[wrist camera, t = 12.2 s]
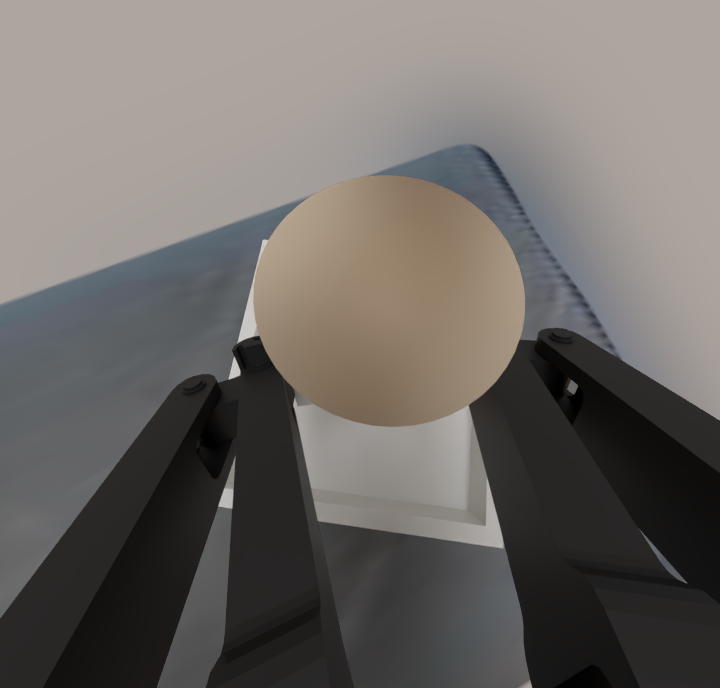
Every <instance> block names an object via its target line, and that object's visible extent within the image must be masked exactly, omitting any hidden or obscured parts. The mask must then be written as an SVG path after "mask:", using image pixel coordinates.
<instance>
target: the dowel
mask: <svg viewBox="0 0 720 688" xmlns="http://www.w3.org/2000/svg"><path fill="white" fill-rule="evenodd" d="M253 305H254V314H255V321H256V325H257V328H258V332H259V336H260V338H261V341H262V343H263V346H264V348H265V350H266V352H267V354H268V356H269V357H270V359H271V361H272V362H273V364H274V366H275V367H276V369H277V370H278V371H279V372H280V374H281V375H282V376H283V377H284V379H285V380H286V381H287V382H288V383H289V384H290V385H291V386H292V387H293V388H294V389H295V390H296V391H297V392H299V393H300V394H301V395H302V396H303V397H305V398H306V399H308V400H309V401H311V402H312V403H313V404H315V405H316V406H318V407H320V408H322V409H324V410H326V411H328V412H330V413H332V414H333V415H336V416H339V417H342V418H344V419H347V420H350V421H353V422H358V423H362V424H367V425H372V426H386V427H400V426H413V425H418V424H423V423H428V422H432V421H435V420H438V419H441V418H443V417H446V416H449V415H451V414H453V413H455V412H457V411H459V410H461V409H463V408H464V407H466V406H468V405H469V404H471V403H472V402H474V401H475V400H476V399H478V398H479V397H480V396H482V395H483V394H484V393H485V392H486V391H487V390H488V389H489V388H490V387H491V386H492V385H493V384H494V383H495V382H496V381H497V380H498V378H499V377H500V376H501V374H502V373H503V372H504V370H505V369H506V368H507V366H508V364H509V362H510V360H511V358H512V357H513V355H514V353H515V351H516V348H517V345H518V342H519V340H520V337H521V333H522V328H523V323H524V315H525V295H524V285H523V281H522V276H521V272H520V269H519V266H518V263H517V261H516V258H515V255H514V253H513V251H512V250H511V248H510V246H509V244H508V242H507V240H506V239H505V238H504V236H503V235H502V233H501V232H500V231H499V229H498V228H497V227H496V225H495V224H494V223H493V222H492V221H491V220H490V219H489V218H488V217H487V216H486V215H485V214H484V213H483V212H482V211H481V210H479V209H478V208H477V207H476V206H475V205H473V204H472V203H470V202H469V201H468V200H466V199H465V198H463V197H462V196H460V195H458V194H456V193H454V192H452V191H450V190H449V189H447V188H444V187H441V186H439V185H436V184H434V183H431V182H427V181H424V180H420V179H416V178H410V177H403V176H389V175H382V176H368V177H362V178H356V179H352V180H348V181H345V182H341V183H338V184H335V185H333V186H330V187H328V188H325V189H323V190H322V191H320V192H318V193H316V194H314V195H312V196H311V197H309V198H308V199H306V200H305V201H304V202H302V203H301V204H299V205H298V206H297V207H296V208H295V209H294V210H293V211H292V212H290V213H289V214H288V215H287V216H286V217H285V219H284V220H283V221H282V222H281V223H280V224H279V226H278V227H277V228H276V229H275V231H274V233H273V234H272V236H271V237H270V239H269V240H268V242H267V244H266V246H265V248H264V250H263V253H262V255H261V258H260V261H259V264H258V267H257V270H256V276H255V282H254V294H253Z"/></svg>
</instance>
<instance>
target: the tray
mask: <svg viewBox="0 0 720 688" xmlns="http://www.w3.org/2000/svg"><path fill="white" fill-rule="evenodd" d="M267 242H268V240H263V243H262V247H261V251H260V255H259V259H258V263H257V267H258V264H259V261H260V258H261V255H262V253H263V250H264V248H265V246H266V244H267ZM257 267H256V270H257ZM255 276H256V271H255V275H254V279H253V283H252V287H251V291H250V295H249V299H248V303H247V307H246V311H245V315H244V319H243V323H242V327H241V331H240V335H239V339H238V343H239V342H241V341H243V340H245V339H247V338H250V337H254V336H259V332H258V328H257V325H256V321H255V314H254V305H253V294H254V282H255ZM238 343H237V344H238ZM237 376H240V369H239V366H238V364H237V361H236V359H235V356H234V360H233V364H232V368H231V372H230V376H229V379H232V378H235V377H237ZM293 406H294V409H295V413H296V417H297V422H298V427H299V432H300V437H301V441H302V446H303V451H304V456H305V461H306V466H307V471H308V476H309V481H310V485H311V490H312V495H313V500H314V505H315V510H316V515H317V520H318V521H321V522H327V523H334V524H341V525H348V526H355V527H361V528H368V529H375V530H382V531H388V532H395V533H402V534H409V535H416V536H422V537H429V538H436V539H443V540H449V541H456V542H463V543H470V544H477V545H483V546H490V547H497V548H503V537H502V533H501V529H500V525H499V521H498V517H497V514H496V510H495V506H494V502H493V498H492V494H491V490H490V486H489V482H488V479H487V475H486V471H485V467H484V463H483V459H482V455H481V451H480V448H479V444H478V440H477V436H476V432H475V428H474V424H473V420H472V417H471V413H470V409H469V405H468V406H466V407H464V408H463V409H461V410H459V411H457V412H455V413H453V414H451V415H449V416H446V417H443V418H441V419H438V420H435V421H432V422H428V423H423V424H418V425H413V426H400V427H386V426H372V425H367V424H362V423H358V422H353V421H350V420H347V419H344V418H342V417H339V416H336V415H333V414H332V413H330V412H328V411H326V410H324V409H322V408H320V407H318V406H316V405H315V404H313V405H306V406H299V407H298V406H297V403H296V400H295V398H294V404H293ZM234 472H235V458H234V461H233V464H232V467H231V470H230V473H229V476H228V479H227V482H226V485H225V488H224V491H223V494H222V497H221V500H220V503H219V505H218V506H219V507H226V508H232V506H233V489H234Z"/></svg>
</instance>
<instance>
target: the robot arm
mask: <svg viewBox="0 0 720 688" xmlns="http://www.w3.org/2000/svg"><path fill="white" fill-rule="evenodd" d="M232 351H233V354H234V356H235V359H236V361H237V364H238V366H239V369H240V376H237V377H235V378H232V379H229V380H226V381H223V382H220V383H218V382H217V380H216V379H215V377H214V376H213V375H210V374H202V375H198V376H193V377H191V378H188V379H186V380H185V381H183V382H182V383H180V384H178V385H177V386H176V387H175V388H174V389H173V391H172V392H171V393H170V395H169V396H168V397H167V398H166V400H165V401H164V402H163V404H162V405H161V406H160V408H159V409H158V410H157V412H156V413H155V414H154V416H153V417H152V418H151V420H150V421H149V422H148V424H147V425H146V426H145V428H144V429H143V430H142V432H141V433H140V434H139V436H138V437H137V438H136V440H135V441H134V442H133V444H132V445H131V446H130V448H129V449H128V450H127V451H126V453H125V454H124V455H123V457H122V458H121V459H120V461H119V462H118V463H117V465H116V466H115V467H114V469H113V470H112V471H111V473H110V474H109V475H108V477H107V478H106V479H105V481H104V482H103V483H102V485H101V486H100V487H99V489H98V490H97V491H96V493H95V494H94V495H93V497H92V498H91V499H90V501H89V502H88V503H87V504H86V506H85V507H84V508H83V510H82V511H81V512H80V514H79V515H78V516H77V518H76V519H75V520H74V522H73V523H72V524H71V526H70V527H69V528H68V530H67V531H66V532H65V534H64V535H63V536H62V538H61V539H60V540H59V542H58V543H57V544H56V546H55V547H54V548H53V550H52V551H51V552H50V553H49V555H48V556H47V557H46V559H45V560H44V561H43V563H42V564H41V565H40V567H39V568H38V569H37V571H36V572H35V573H34V575H33V576H32V577H31V579H30V580H29V581H28V583H27V584H26V585H25V587H24V588H23V589H22V591H21V592H20V593H19V595H18V596H17V597H16V599H15V600H14V601H13V603H12V604H11V605H10V606H9V608H8V609H7V610H6V612H5V613H4V614H3V616H2V617H1V618H0V688H157V685H158V682H159V679H160V676H161V673H162V670H163V667H164V664H165V661H166V658H167V655H168V652H169V649H170V647H171V644H172V641H173V638H174V635H175V632H176V629H177V626H178V623H179V620H180V617H181V614H182V611H183V608H184V605H185V602H186V600H187V597H188V594H189V591H190V588H191V585H192V582H193V579H194V576H195V573H196V570H197V567H198V564H199V561H200V558H201V555H202V552H203V550H204V547H205V544H206V541H207V538H208V535H209V532H210V529H211V526H212V523H213V520H214V517H215V514H216V511H217V508H218V505H219V503H220V500H221V497H222V494H223V491H224V488H225V485H226V482H227V479H228V476H229V473H230V470H231V467H232V464H233V461H234V458H235V472H234V489H233V506H232V523H231V540H230V558H229V575H228V592H227V609H226V626H225V637H224V645H223V649H222V652H221V655H220V657H219V659H218V660H217V662H216V664H215V665H214V667H213V669H212V671H211V672H210V675H209V679H208V682H207V686H206V688H354V686H353V682H352V678H351V673H350V669H349V666H348V662H347V658H346V654H345V650H344V646H343V641H342V637H341V632H340V627H339V622H338V617H337V612H336V607H335V603H334V598H333V593H332V588H331V583H330V578H329V573H328V568H327V564H326V559H325V554H324V549H323V544H322V539H321V534H320V529H319V524H318V520H317V515H316V510H315V505H314V500H313V495H312V490H311V485H310V481H309V476H308V471H307V466H306V461H305V456H304V451H303V446H302V441H301V437H300V432H299V427H298V422H297V417H296V413H295V409H294V406H293V404H294V398H295V400H296V403H297V406H298V407H299V406H306V405H313V403H312V402H311V401H309V400H308V399H306V398H305V397H303V396H302V395H301V394H300V393H299V392H297V391H296V390H295V389H294V388H293V387H292V386H291V385H290V384H289V383H288V382H287V381H286V380H285V379H284V377H283V376H282V375H281V374H280V372H279V371H278V370H277V369H276V367H275V366H274V364H273V362H272V361H271V359H270V357H269V356H268V354H267V352H266V350H265V348H264V346H263V343H262V341H261V338H260V336H254V337H250V338H247V339H245V340H243V341H241V342H239V343H238V344H236V345H235V346H234V348H233V350H232ZM571 380H572V381H574V382H575V383H576V384H577V385H578V388H577V390H576V393H575V394H574V395H573V394H572V393H570V392H569V391H568V390H567V388H568V386H569V383H570V381H571ZM469 409H470V413H471V417H472V420H473V424H474V428H475V432H476V436H477V440H478V444H479V448H480V451H481V455H482V459H483V463H484V467H485V471H486V475H487V479H488V482H489V486H490V490H491V494H492V498H493V502H494V506H495V510H496V514H497V517H498V521H499V525H500V529H501V533H502V537H503V541H504V545H505V548H506V552H507V556H508V560H509V564H510V568H511V572H512V576H513V579H514V583H515V587H516V591H517V595H518V599H519V603H520V607H521V611H522V617H523V626H524V649H525V656H526V662H527V667H528V671H529V676H530V680H531V684H532V688H720V420H718V419H716V418H715V417H713V416H711V415H710V414H708V413H707V412H705V411H703V410H701V409H700V408H698V407H697V406H695V405H693V404H692V403H690V402H689V401H687V400H685V399H684V398H682V397H680V396H679V395H677V394H676V393H674V392H672V391H671V390H669V389H667V388H666V387H664V386H662V385H661V384H659V383H658V382H656V381H654V380H653V379H651V378H649V377H648V376H646V375H645V374H643V373H641V372H640V371H638V370H636V369H635V368H633V367H631V366H630V365H628V364H627V363H625V362H623V361H622V360H620V359H618V358H617V357H615V356H614V355H612V354H610V353H609V352H607V351H605V350H604V349H602V348H600V347H599V346H597V345H596V344H594V343H592V342H591V341H589V340H587V339H586V338H584V337H583V336H581V335H579V334H577V333H575V332H572V331H568V330H566V329H562V328H561V329H560V328H547V329H544V330H541V331H540V332H539V333H538V336H537V339H536V341H530V340H519V342H518V345H517V348H516V351H515V353H514V355H513V357H512V358H511V360H510V362H509V364H508V366H507V368H506V369H505V370H504V372H503V373H502V374H501V376H500V377H499V378H498V380H497V381H496V382H495V383H494V384H493V385H492V386H491V387H490V388H489V389H488V390H487V391H486V392H485V393H484V394H483V395H482V396H480V397H479V398H478V399H476V400H475V401H474V402H472V403H471V404H469ZM638 528H639V529H640V530H641V531H642V532H643V533H644V535H645V536H646V537H647V538H648V539H649V540H650V541H651V542H652V544H653V545H654V546H655V547H656V548H657V549H658V550H659V551H660V553H661V554H662V555H663V556H664V557H665V558H666V559H667V560H668V562H669V563H670V564H671V565H672V566H673V567H674V568H675V570H676V571H677V572H678V573H679V574H680V575H681V576H682V577H683V579H684V580H685V581H686V582H687V583H688V584H687V583H684V582H682V581H680V580H677V579H676V578H675V577H674V576H673V575H671V574H670V573H669V572H668V571H667V570H666V568H665V567H664V566H663V565H662V563H661V562H660V561H659V559H658V558H657V556H656V555H655V553H654V552H653V550H652V549H651V547H650V545H649V544H648V542H647V541H646V539H645V538H644V536H643V535H642V533H641V532H640V530H639V529H638Z"/></svg>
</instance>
